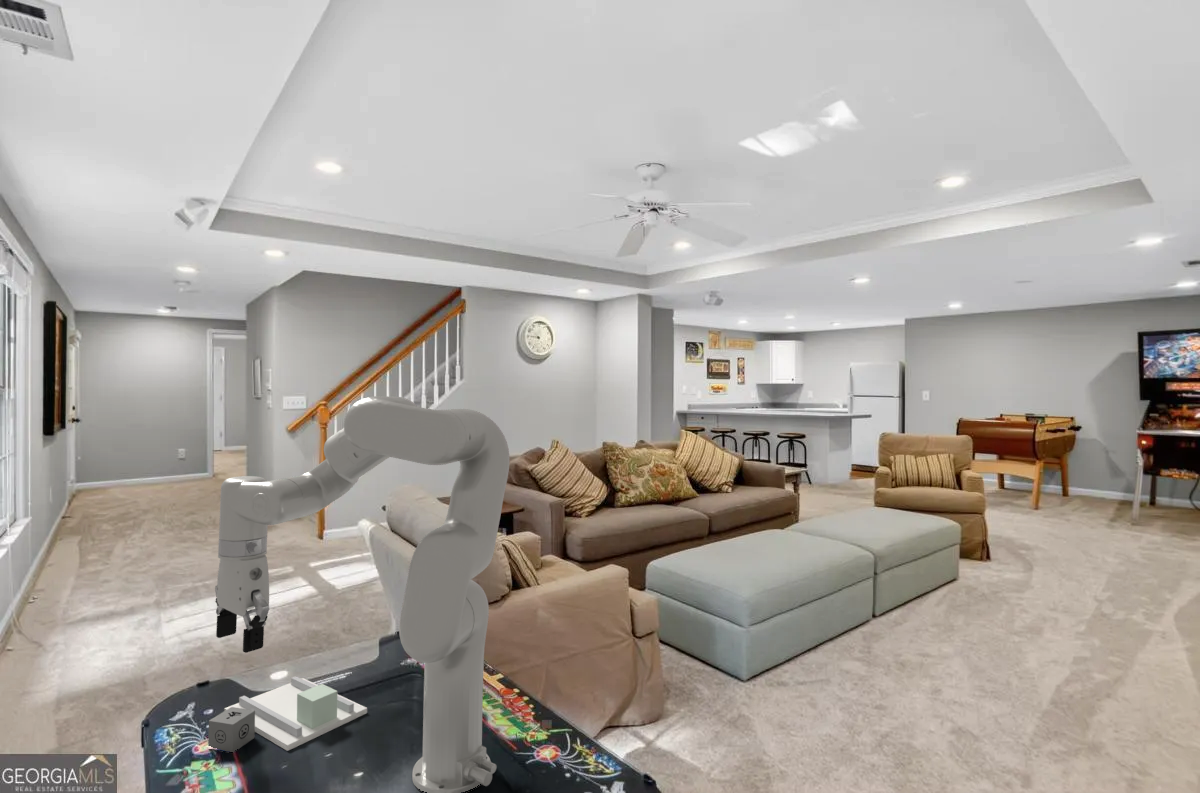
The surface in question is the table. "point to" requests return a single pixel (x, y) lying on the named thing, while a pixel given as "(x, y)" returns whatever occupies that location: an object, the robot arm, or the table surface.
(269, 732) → the rail board
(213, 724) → the dice cube
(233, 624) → the robot arm
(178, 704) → the table surface
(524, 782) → the table surface
